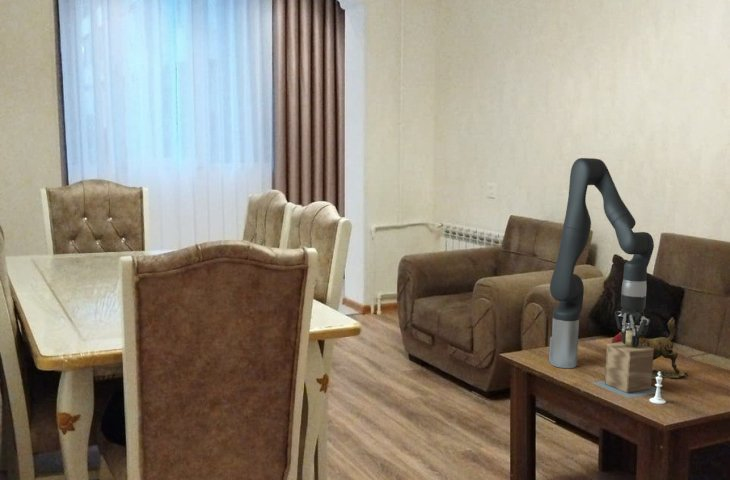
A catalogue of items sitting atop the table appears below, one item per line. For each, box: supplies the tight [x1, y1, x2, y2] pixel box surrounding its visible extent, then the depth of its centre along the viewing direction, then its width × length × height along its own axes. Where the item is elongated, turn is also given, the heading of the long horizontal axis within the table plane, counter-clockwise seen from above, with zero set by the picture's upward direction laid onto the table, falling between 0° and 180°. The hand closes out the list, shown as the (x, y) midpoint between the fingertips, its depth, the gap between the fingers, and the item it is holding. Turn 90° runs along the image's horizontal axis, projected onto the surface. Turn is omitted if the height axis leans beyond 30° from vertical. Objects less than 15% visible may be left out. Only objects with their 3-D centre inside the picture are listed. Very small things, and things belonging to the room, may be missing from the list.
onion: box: [611, 331, 623, 343], centre depth 287 cm, size 6×6×8 cm
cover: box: [604, 329, 654, 393], centre depth 244 cm, size 10×10×19 cm
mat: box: [592, 380, 665, 399], centre depth 245 cm, size 16×16×1 cm
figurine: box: [635, 317, 689, 381], centre depth 257 cm, size 13×25×20 cm, turn 96°
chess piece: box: [648, 371, 667, 405], centre depth 231 cm, size 5×5×10 cm
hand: (630, 344), depth 243 cm, fingers closed on cover, 3 cm apart
